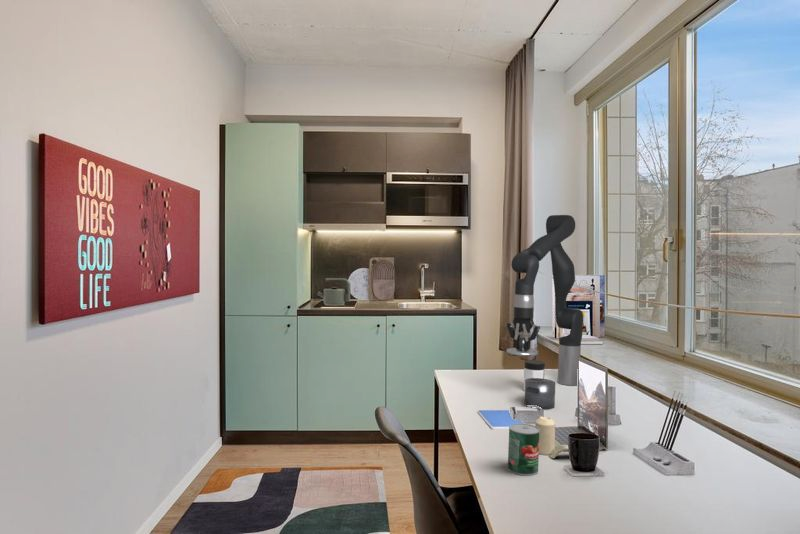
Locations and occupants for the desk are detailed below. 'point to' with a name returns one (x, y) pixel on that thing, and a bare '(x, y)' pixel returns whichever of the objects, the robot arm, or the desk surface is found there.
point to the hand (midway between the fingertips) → (522, 349)
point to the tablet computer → (498, 418)
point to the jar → (533, 370)
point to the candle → (546, 435)
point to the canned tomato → (523, 449)
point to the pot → (540, 393)
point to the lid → (522, 349)
